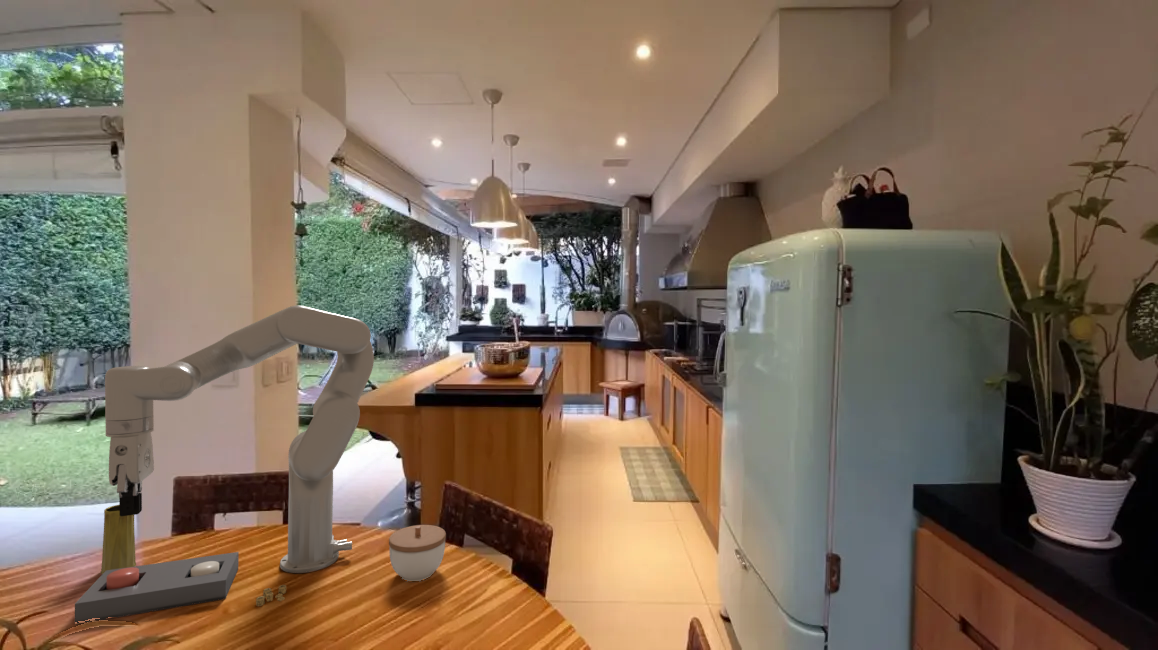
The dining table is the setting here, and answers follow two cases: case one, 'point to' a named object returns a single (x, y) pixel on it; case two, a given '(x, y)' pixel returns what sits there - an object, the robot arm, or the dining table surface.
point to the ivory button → (205, 568)
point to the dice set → (271, 595)
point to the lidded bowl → (417, 551)
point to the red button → (123, 578)
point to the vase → (118, 540)
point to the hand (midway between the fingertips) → (130, 513)
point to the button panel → (158, 588)
